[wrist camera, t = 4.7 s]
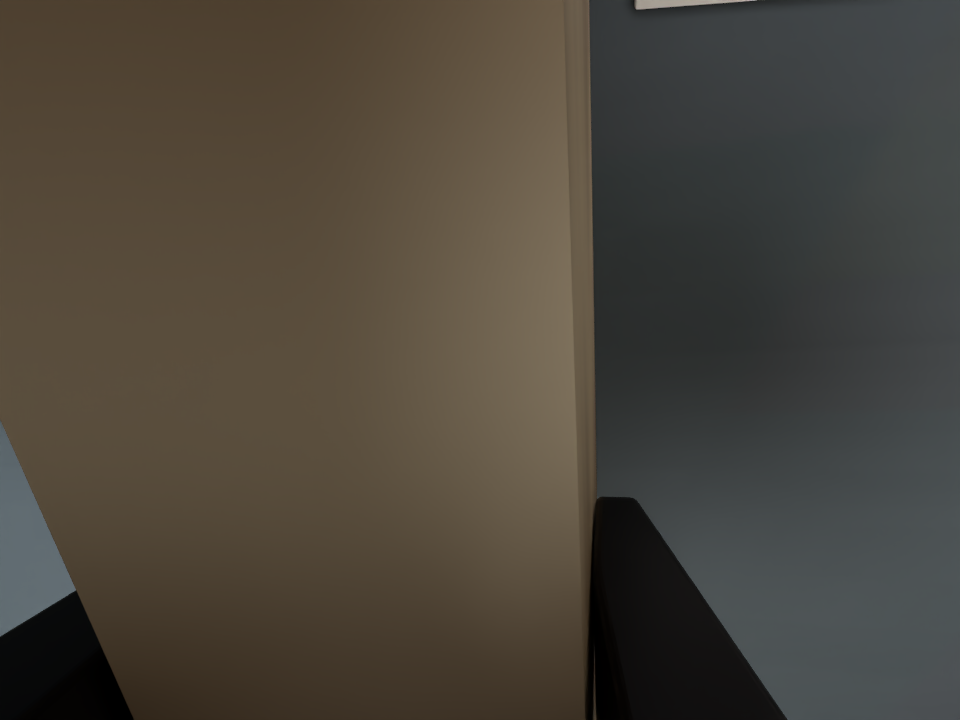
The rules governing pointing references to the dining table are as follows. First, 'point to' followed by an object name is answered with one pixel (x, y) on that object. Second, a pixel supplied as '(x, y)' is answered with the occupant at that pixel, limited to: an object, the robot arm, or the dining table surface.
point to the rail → (309, 347)
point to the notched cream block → (676, 3)
